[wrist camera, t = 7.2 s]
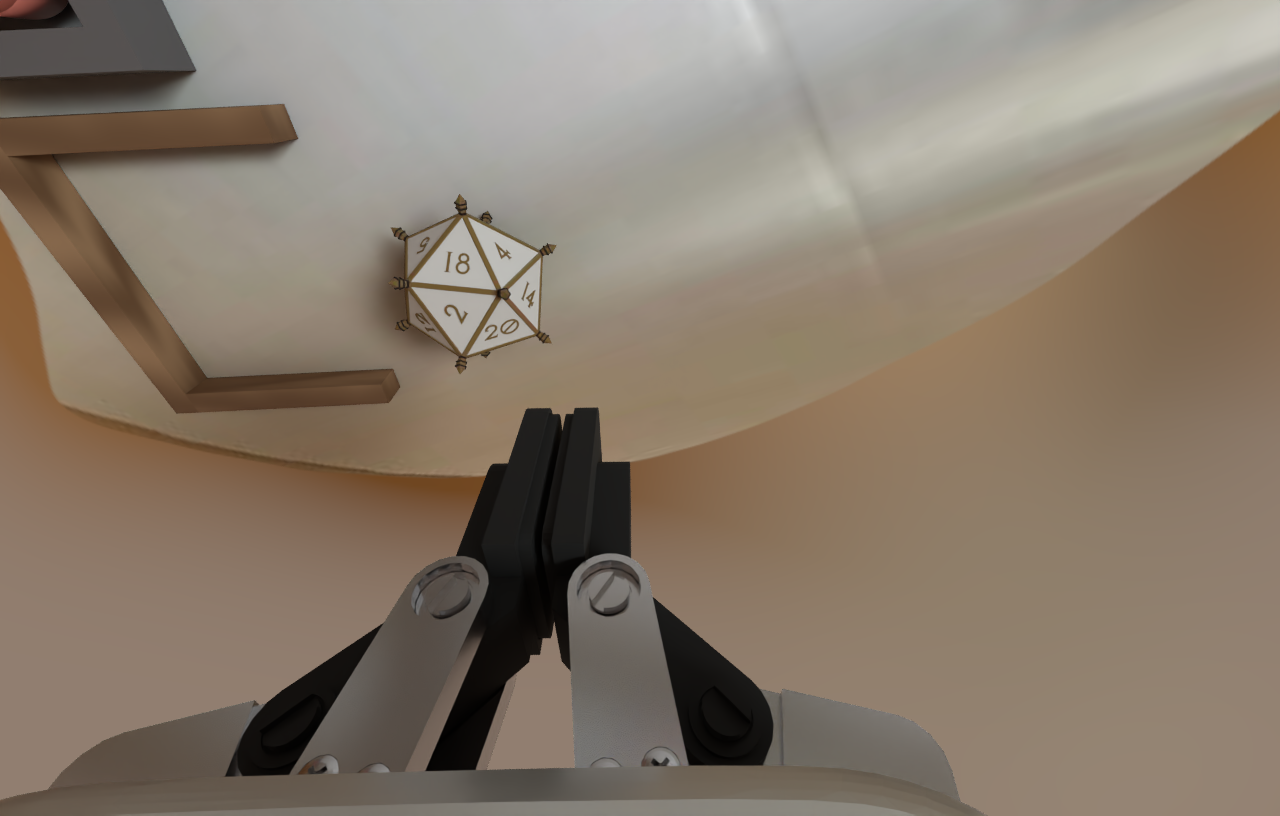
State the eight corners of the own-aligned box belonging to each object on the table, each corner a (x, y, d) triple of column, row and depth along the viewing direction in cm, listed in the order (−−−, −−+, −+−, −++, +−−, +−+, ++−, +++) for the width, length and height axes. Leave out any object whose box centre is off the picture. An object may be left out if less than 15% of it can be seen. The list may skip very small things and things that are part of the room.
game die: (521, 222, 30) (599, 212, 23) (517, 350, 33) (587, 381, 25) (363, 195, 25) (394, 170, 17) (371, 350, 27) (402, 389, 20)
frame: (-5, 118, 23) (-53, 121, 22) (283, 104, 23) (258, 106, 22) (198, 396, 33) (176, 413, 32) (400, 386, 33) (388, 402, 32)
